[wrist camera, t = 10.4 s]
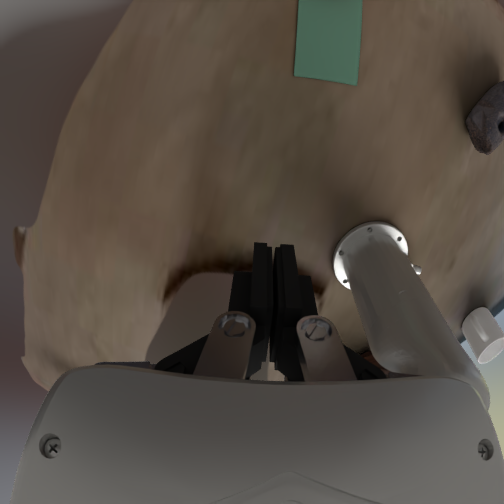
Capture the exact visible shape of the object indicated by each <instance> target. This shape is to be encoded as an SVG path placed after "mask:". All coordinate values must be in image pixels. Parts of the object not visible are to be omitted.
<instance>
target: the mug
mask: <svg viewBox="0 0 504 504" xmlns="http://www.w3.org/2000/svg"><path fill="white" fill-rule="evenodd" d="M462 331H463V334H464V336H465V337H466V339H467V341H468V343H469V345H470V346H471V349H472V350H473V353H474V354H475V356H476V358H477V360H478V362H479V363H481V364H483V363H486V362H489V361H490V360H492V359H494V358H495V357H496V356H497V355H498V354H499V353H500V352H501V351H502V350H503V349H504V333H503V331H502V330H501V328H500V327H499V325H498V324H497V322H496V321H495V319H494V317H493V316H492V314H491V313H490V311H489V310H488V309H487V308H485V307H480V308H477V309H475V310H473V311H472V312H471V313H470V314H469V315H468V316H467V317H466V318H465V320H464V322H463V324H462Z"/></svg>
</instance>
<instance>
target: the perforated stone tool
mask: <svg viewBox="0 0 504 504" xmlns="http://www.w3.org/2000/svg"><path fill="white" fill-rule="evenodd" d="M465 123H466V125H467V128H468V131H469V135H470V139H471V140H472V143H473V145H474V147H475V148H476V150H477V151H479V152H480V153H484V154H486V155H489V154H490V153H492V152H493V150H495V149H496V148H497V147H498V146H499V145H500V143H501V142H502V141H503V140H504V81H502V82H499V83H497V84H496V85H494V86H493V87H492V88H490V90H488V92H487V93H486V94H485V95H484V96H483V97H482V98H481V100H480V101H479V102H478V103H477V104H476V105H475V107H474V108H473V109H472V111H471V113H470V114H469V116H468V118H467V119H466V121H465Z"/></svg>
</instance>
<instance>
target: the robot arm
mask: <svg viewBox="0 0 504 504" xmlns="http://www.w3.org/2000/svg"><path fill="white" fill-rule="evenodd" d="M333 269H334V272H335V275H336V277H337V279H338V281H339V282H340V283H341V284H342V285H343V286H345V287H346V288H348V289H351V291H352V294H353V297H354V300H355V303H356V306H357V309H358V312H359V315H360V318H361V321H362V324H363V328H364V331H365V334H366V337H367V340H368V343H369V347H370V350H371V352H372V355H373V356H374V358H375V359H376V361H377V362H378V363H379V364H380V365H381V366H383V367H384V368H386V369H387V370H389V371H391V372H389V373H388V374H384V372H383V371H382V370H381V369H379V368H378V367H377V366H375V365H374V364H372V363H371V362H369V361H368V360H366V359H364V358H363V357H361V356H360V355H358V354H357V353H355V352H354V351H352V350H351V349H349V348H348V347H346V346H345V345H343V344H342V341H341V339H340V337H339V334H338V332H337V330H336V327H335V326H334V324H333V323H332V322H331V321H330V320H328V319H326V318H324V317H322V316H318V313H317V308H316V302H315V297H314V292H313V287H312V282H311V277H310V276H305V275H298V270H297V264H296V257H295V251H294V245H286V244H281V245H280V247H276V248H275V255H274V264H273V270H272V247H267V243H257V242H254V255H253V269H252V272H243V271H234V276H233V282H232V289H231V296H230V302H229V309H228V312H225V313H223V314H221V315H219V316H218V317H217V318H216V320H215V321H214V324H213V327H212V329H211V331H210V333H209V334H208V335H206V336H204V337H202V338H201V339H199V340H197V341H195V342H193V343H192V344H190V345H188V346H186V347H184V348H182V349H181V350H179V351H177V352H175V353H173V354H171V355H169V356H167V357H166V358H164V359H162V360H161V361H159V362H158V363H157V364H150V362H149V361H144V362H100V363H96V364H95V365H90V366H82V367H78V368H75V369H71V370H69V371H67V372H65V373H64V374H63V375H61V376H60V377H59V378H58V379H57V381H56V382H55V383H54V384H53V386H52V387H51V389H50V391H49V392H48V394H47V396H46V397H45V399H44V401H43V403H42V405H41V407H40V409H39V411H38V414H37V416H36V418H35V420H34V423H33V425H32V428H31V430H30V433H29V436H28V439H27V441H26V444H25V447H24V450H23V453H22V456H21V460H20V463H19V466H18V469H17V473H16V477H15V482H14V486H13V490H12V495H11V500H10V504H504V460H503V456H502V452H501V448H500V445H499V441H498V438H497V435H496V432H495V429H494V426H493V423H492V421H491V418H490V415H489V413H488V409H489V405H490V394H489V389H488V387H487V384H486V382H485V380H484V378H483V376H482V374H481V373H480V371H479V370H478V368H477V367H476V365H475V364H474V363H473V361H472V360H471V358H470V357H469V356H468V354H467V353H466V352H465V350H464V349H463V348H462V346H461V345H460V343H459V342H458V340H457V339H456V337H455V336H454V334H453V333H452V331H451V329H450V327H449V326H448V324H447V322H446V321H445V319H444V317H443V316H442V314H441V312H440V311H439V309H438V307H437V305H436V304H435V302H434V301H433V299H432V297H431V296H430V294H429V292H428V291H427V289H426V287H425V286H424V284H423V282H422V281H421V279H420V278H419V276H418V275H417V274H420V273H421V267H420V266H417V265H413V264H412V263H411V261H410V260H409V258H408V246H407V242H406V239H405V237H404V236H403V234H402V233H401V232H400V231H399V230H398V229H397V228H396V227H395V226H393V225H391V224H389V223H386V222H379V221H374V222H368V223H364V224H361V225H359V226H357V227H355V228H353V229H352V230H350V231H349V232H348V233H347V234H346V235H345V236H344V237H343V238H342V239H341V240H340V242H339V243H338V245H337V247H336V249H335V251H334V255H333ZM269 336H270V362H274V363H275V370H279V371H280V372H281V373H282V374H283V375H285V376H284V381H260V380H251V375H252V374H254V373H256V372H257V371H258V370H260V369H261V363H262V362H265V361H266V356H267V349H268V343H269Z"/></svg>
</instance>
